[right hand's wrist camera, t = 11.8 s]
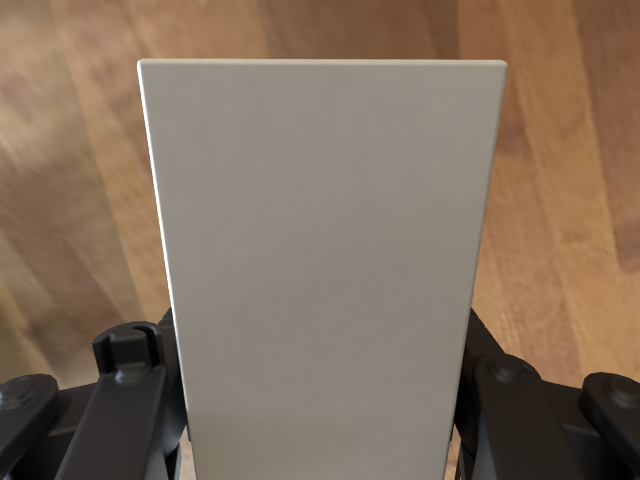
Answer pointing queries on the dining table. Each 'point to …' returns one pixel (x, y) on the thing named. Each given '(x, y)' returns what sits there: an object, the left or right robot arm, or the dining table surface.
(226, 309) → the post
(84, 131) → the dining table surface
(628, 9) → the dining table surface
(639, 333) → the dining table surface
